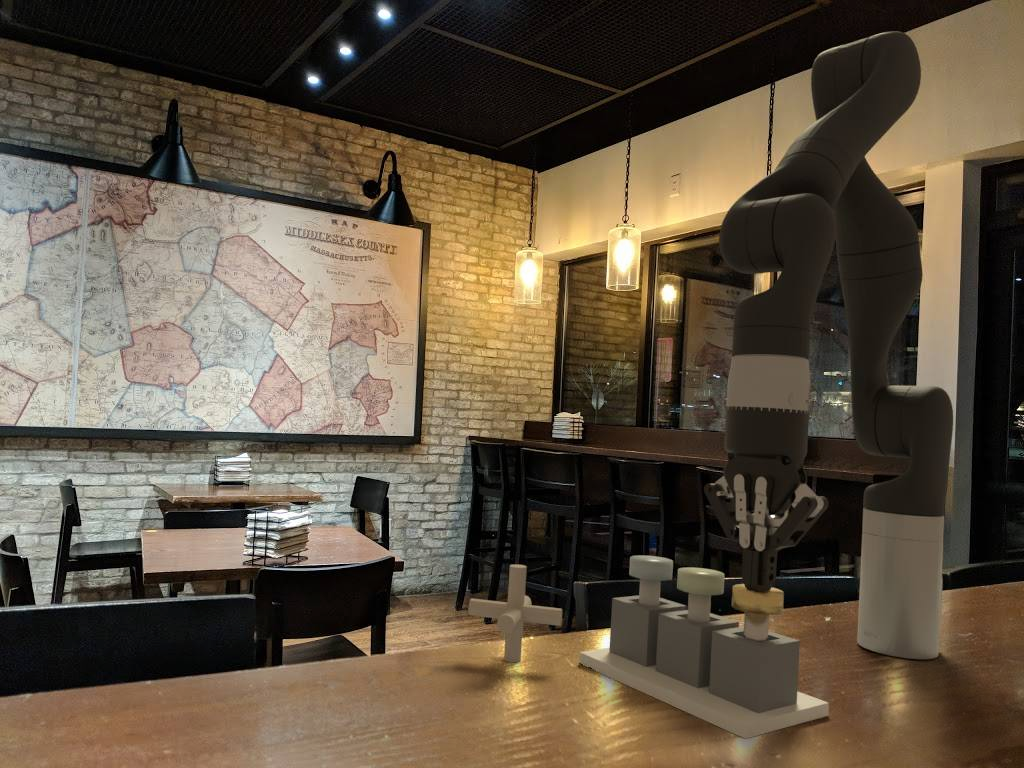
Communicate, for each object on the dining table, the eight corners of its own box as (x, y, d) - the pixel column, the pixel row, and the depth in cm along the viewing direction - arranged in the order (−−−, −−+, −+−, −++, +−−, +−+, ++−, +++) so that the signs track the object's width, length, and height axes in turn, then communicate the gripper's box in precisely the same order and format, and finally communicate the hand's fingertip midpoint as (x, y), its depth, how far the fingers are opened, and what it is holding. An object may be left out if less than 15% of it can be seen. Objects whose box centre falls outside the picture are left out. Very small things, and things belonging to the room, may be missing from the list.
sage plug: (694, 645, 83) (699, 566, 84) (729, 658, 79) (734, 575, 80) (663, 651, 81) (668, 568, 81) (698, 664, 77) (703, 578, 77)
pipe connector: (551, 680, 79) (557, 579, 80) (455, 667, 81) (461, 569, 82) (564, 652, 89) (569, 563, 90) (478, 641, 91) (484, 554, 92)
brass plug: (749, 668, 77) (753, 582, 78) (789, 682, 74) (794, 592, 74) (717, 674, 75) (722, 585, 75) (758, 689, 71) (762, 596, 71)
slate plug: (647, 629, 89) (651, 554, 89) (677, 639, 85) (682, 562, 86) (616, 633, 86) (621, 556, 87) (647, 644, 83) (651, 564, 83)
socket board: (658, 650, 92) (661, 590, 93) (828, 715, 74) (831, 640, 75) (579, 663, 85) (582, 597, 86) (745, 738, 67) (749, 655, 68)
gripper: (854, 410, 72) (845, 602, 71) (737, 406, 83) (728, 573, 82) (804, 404, 68) (794, 609, 67) (687, 401, 79) (677, 577, 78)
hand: (757, 589), depth 75 cm, fingers closed
